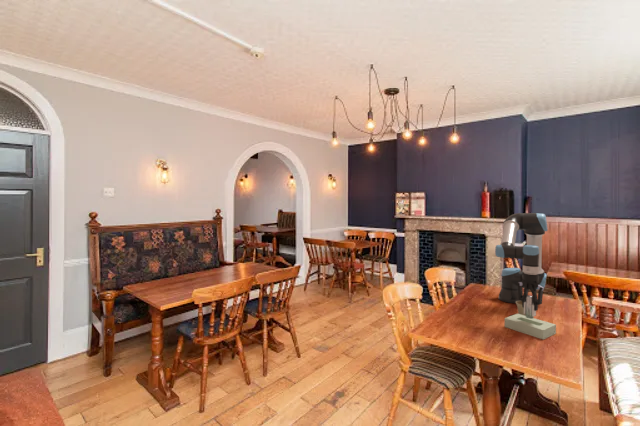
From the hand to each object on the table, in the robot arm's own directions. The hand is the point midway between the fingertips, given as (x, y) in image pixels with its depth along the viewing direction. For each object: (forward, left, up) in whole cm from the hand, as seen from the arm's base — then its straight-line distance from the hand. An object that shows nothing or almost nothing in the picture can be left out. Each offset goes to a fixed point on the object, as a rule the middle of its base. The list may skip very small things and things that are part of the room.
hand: (529, 314), depth 178 cm
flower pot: (-19, -12, -9) cm, 24 cm away
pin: (0, 0, -2) cm, 2 cm away
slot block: (0, 0, -9) cm, 9 cm away
